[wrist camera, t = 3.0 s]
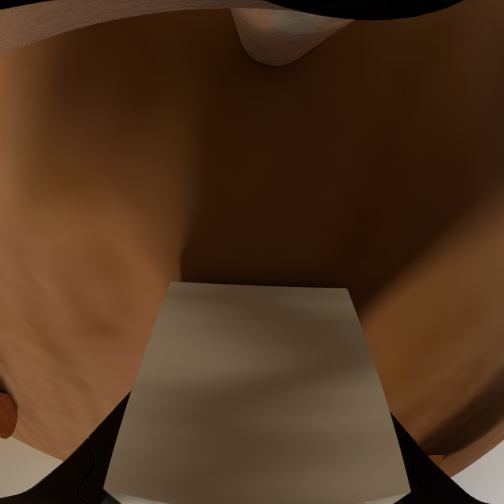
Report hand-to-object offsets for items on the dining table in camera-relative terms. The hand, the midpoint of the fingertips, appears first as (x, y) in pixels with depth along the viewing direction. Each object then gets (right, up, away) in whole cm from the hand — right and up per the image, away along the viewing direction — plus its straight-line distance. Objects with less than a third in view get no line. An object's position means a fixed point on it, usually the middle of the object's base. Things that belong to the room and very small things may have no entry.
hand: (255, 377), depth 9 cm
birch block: (0, +1, +1) cm, 1 cm away
